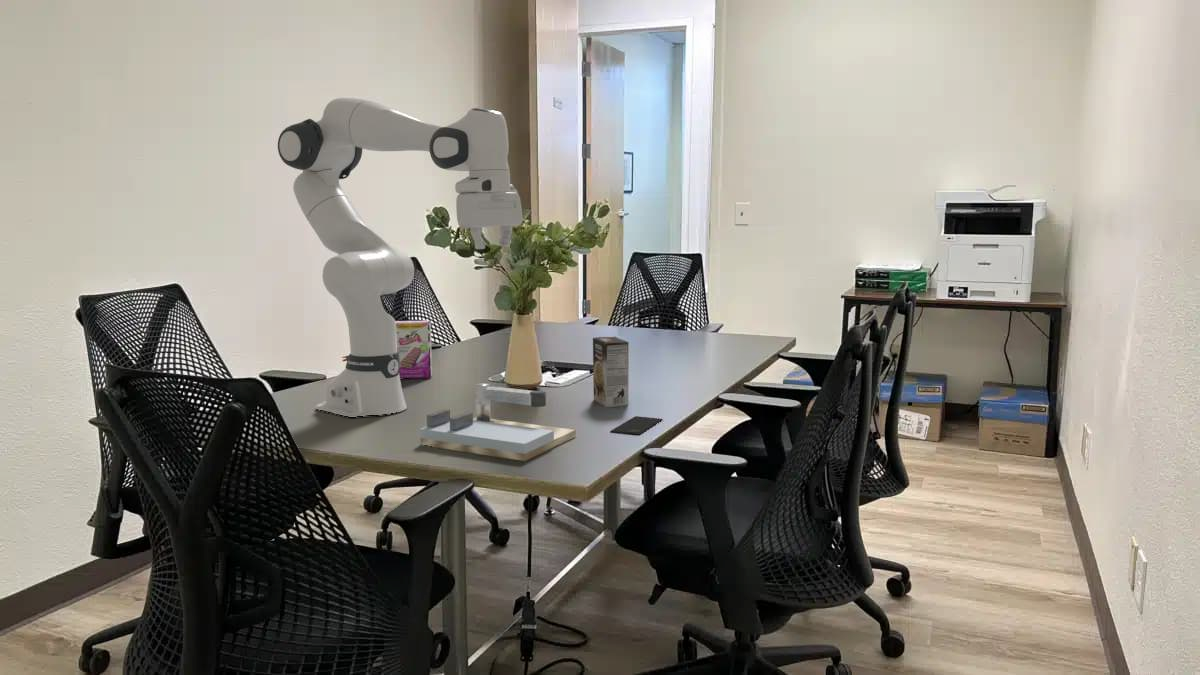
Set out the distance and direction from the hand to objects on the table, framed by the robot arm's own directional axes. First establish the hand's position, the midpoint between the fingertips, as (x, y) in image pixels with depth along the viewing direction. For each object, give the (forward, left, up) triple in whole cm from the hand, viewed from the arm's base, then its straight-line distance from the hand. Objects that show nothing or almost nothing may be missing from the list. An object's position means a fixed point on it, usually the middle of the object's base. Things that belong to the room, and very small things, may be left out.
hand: (492, 247), depth 196 cm
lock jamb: (+8, -11, -40) cm, 42 cm away
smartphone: (+29, +13, -41) cm, 52 cm away
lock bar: (+6, -4, -38) cm, 39 cm away
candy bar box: (-53, +34, -40) cm, 75 cm away
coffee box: (+13, +31, -40) cm, 53 cm away
